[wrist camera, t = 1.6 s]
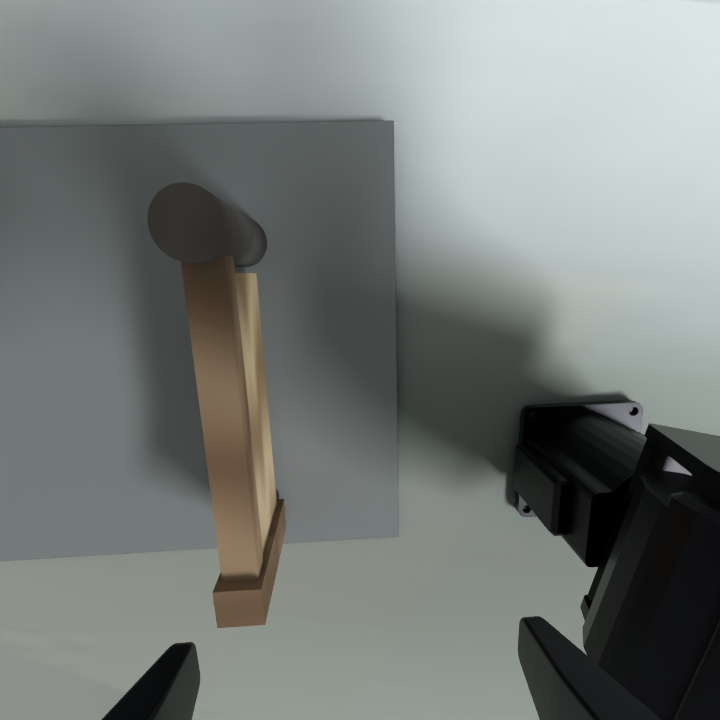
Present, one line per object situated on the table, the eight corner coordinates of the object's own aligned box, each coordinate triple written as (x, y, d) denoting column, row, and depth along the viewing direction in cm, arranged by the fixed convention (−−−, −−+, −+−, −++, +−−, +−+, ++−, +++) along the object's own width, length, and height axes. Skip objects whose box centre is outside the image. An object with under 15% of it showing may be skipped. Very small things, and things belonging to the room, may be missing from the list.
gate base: (391, 125, 18) (424, 31, 11) (397, 529, 22) (422, 643, 15) (-161, 135, 17) (-509, 38, 10) (-37, 556, 21) (-217, 689, 14)
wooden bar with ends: (215, 217, 17) (141, 183, 11) (264, 215, 17) (221, 181, 11) (248, 527, 21) (207, 640, 14) (290, 525, 21) (267, 636, 14)
